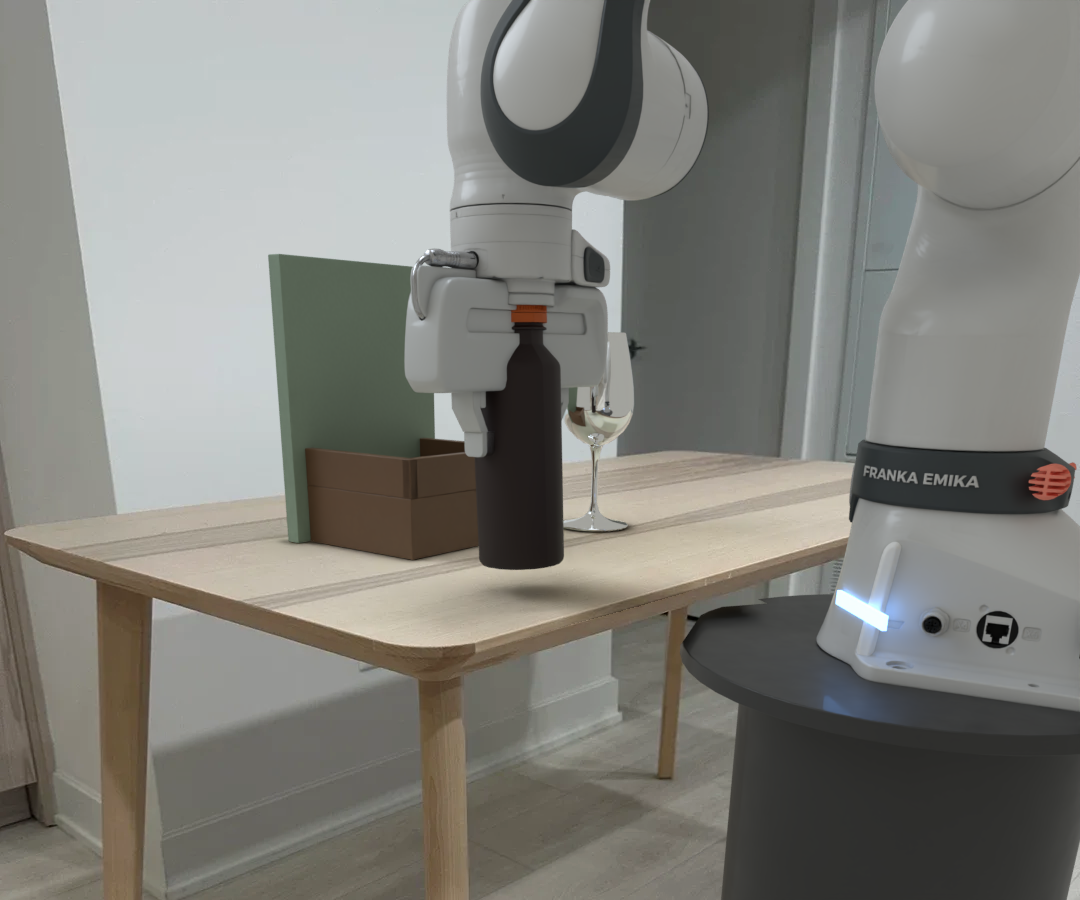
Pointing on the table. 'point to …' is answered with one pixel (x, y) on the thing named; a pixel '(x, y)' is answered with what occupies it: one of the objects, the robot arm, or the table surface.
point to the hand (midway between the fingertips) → (514, 452)
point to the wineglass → (602, 422)
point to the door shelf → (361, 416)
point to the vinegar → (523, 457)
